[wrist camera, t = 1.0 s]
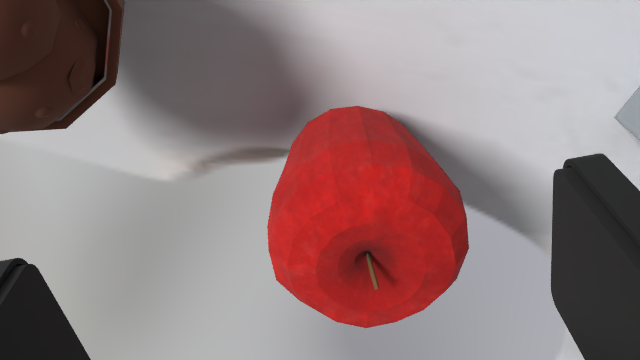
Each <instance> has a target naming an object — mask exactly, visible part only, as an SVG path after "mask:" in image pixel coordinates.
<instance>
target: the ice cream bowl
mask: <svg viewBox="0 0 640 360" xmlns="http://www.w3.org/2000/svg"><path fill="white" fill-rule="evenodd" d="M123 13H124V0H0V134H4V133H8V132H18V131H35V130H51V129H66V128H67V127H68V126H70V125H71V124H72V123H73V122H74V121H75V120H76V119H77V118H78V117H80V116H81V115H82V114H83V113H84V112H85V111H86V110H87V109H88V108H90V107H91V106H92V105H93V104H94V103H95V102H96V101H97V100H98V99H100V98H101V97H102V96H103V95H104V94H105V93H106V92H107V91H108V90H110V89H111V88H112V87H113V86H114V85H115V83H116V78H117V73H118V65H119V54H120V44H121V34H122V23H123Z"/></svg>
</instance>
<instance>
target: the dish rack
mask: <svg viewBox="0 0 640 360" xmlns="http://www.w3.org/2000/svg"><path fill="white" fill-rule="evenodd" d="M614 118H615V119H617V120H618V121H619V122H620V123H621V124H622V125H623V126H625V127H626V128H627V129H628V130H629V131H630V132H632V133H633V134H634V135H635V136H636V137H637V138H638V139H640V87H639V88H638V90H637V91H636V92H635V93H634V94H633V96H632V97H631V98H630V99H629V100H628V102H627V103H626V104H625V105H624V106H623V108H622V109H621V110H620V111H619V113H618V114H617V115H616V116H615V117H614Z"/></svg>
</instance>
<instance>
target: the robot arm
mask: <svg viewBox="0 0 640 360" xmlns="http://www.w3.org/2000/svg"><path fill="white" fill-rule="evenodd" d="M551 292H552V297H553V300H554V303H555V306H556V308H557V310H558V312H559V313H560V315H561V317H562V319H563V321H564V323H565V324H566V326H567V328H568V330H569V332H570V333H571V335H572V337H573V339H574V341H575V343H576V344H577V346H578V348H579V350H580V352H581V353H582V355H583V357H584V359H585V360H640V191H639V190H638V189H637V188H636V187H635V186H634V185H633V184H632V183H631V182H630V181H629V180H628V179H627V177H626V176H625V175H624V174H623V173H622V172H621V171H620V170H619V169H618V168H617V167H616V166H615V165H614V164H613V163H612V162H611V161H610V160H609V159H608V158H607V157H606V156H605V155H604V154H594V155H588V156H583V157H577V158H572V159H567V160H566V161H565V163H564V165H563V169H558V170H556V171H555V172H554V178H553V217H552V260H551ZM0 360H91V359H90V358H89V356H88V354H87V353H86V351H85V349H84V347H83V346H82V344H81V342H80V340H79V339H78V337H77V335H76V334H75V332H74V330H73V329H72V327H71V325H70V323H69V321H68V320H67V318H66V316H65V315H64V313H63V311H62V309H61V308H60V306H59V304H58V302H57V301H56V299H55V297H54V296H53V294H52V292H51V290H50V289H49V287H48V286H47V283H46V282H45V280H44V278H43V277H42V275H41V273H40V272H39V270H38V268H37V267H36V266H35V265H33V264H28V263H27V262H26V261H25V260H23V259H21V258H15V259H10V260H5V261H0Z"/></svg>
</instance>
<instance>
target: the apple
mask: <svg viewBox="0 0 640 360" xmlns="http://www.w3.org/2000/svg"><path fill="white" fill-rule="evenodd" d="M268 244H269V245H268V246H269V253H270V257H271V261H272V265H273V269H274V272H275V277H276V280H277V281H278V282H279V283H280V284H281V285H283V286H284V287H285V288H286V289H287V290H288V291H289V292H290V293H292V294H293V295H294V296H295V297H296V298H297V299H298V300H300V301H301V302H303V303H305V304H306V305H308V306H310V307H312V308H313V309H315V310H317V311H319V312H320V313H322V314H324V315H326V316H327V317H329V318H331V319H332V320H334V321H336V322H340V323H344V324H349V325H354V326H359V327H364V328H369V327H373V326H378V325H383V324H388V323H393V322H397V321H399V320H401V319H404V318H405V317H408V316H411V315H413V314H415V313H417V312H420V311H422V310H424V309H425V308H426V307H427V306H429V305H430V304H431V303H432V302H433V301H435V300H436V299H437V298H438V297H439V296H440V295H441V294H443V293H444V292H445V291H446V290H447V289H448V288H449V287H450V285H451V284H452V283H453V282H454V281H455V280H456V279H457V276H458V274H459V271H460V269H461V266H462V264H463V261H464V259H465V256H466V254H467V251H468V249H469V245H468V232H467V219H466V213H465V209H464V206H463V202H462V198H461V194H460V191H459V190H458V188H457V187H456V186H455V185H454V183H453V182H452V181H451V180H450V178H449V177H448V176H447V175H446V173H445V172H444V171H443V170H442V168H441V167H440V166H439V165H438V164H437V162H436V161H435V160H434V159H433V158H432V157H431V155H430V154H429V153H428V152H427V151H426V150H425V148H424V147H423V146H422V145H421V144H420V143H419V141H418V140H417V139H416V138H415V137H414V136H413V135H412V134H411V133H410V132H409V131H408V130H407V129H406V128H405V126H404V125H402V124H401V123H399V122H398V121H396V120H395V119H393V118H392V117H390V116H389V115H387V114H386V113H384V112H382V111H378V110H373V109H369V108H364V107H360V106H355V107H346V108H336V109H330V110H329V111H327V112H325V113H324V114H322V115H320V116H319V117H317V118H315V119H313V120H312V121H310V122H308V123H307V125H306V126H305V127H304V129H303V130H302V131H301V133H300V134H299V135H298V137H297V138H296V139H295V141H294V142H293V144H292V147H291V150H290V153H289V156H288V158H287V161H286V164H285V167H284V170H283V172H282V174H281V177H280V179H279V182H278V184H277V186H276V189H275V191H274V193H273V197H272V203H271V209H270V215H269V220H268Z"/></svg>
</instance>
